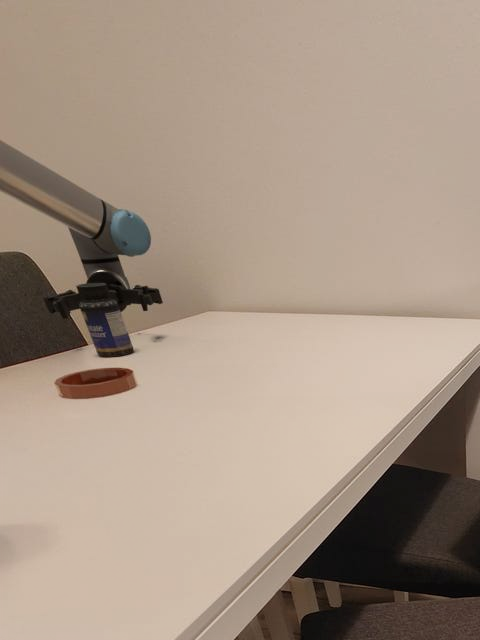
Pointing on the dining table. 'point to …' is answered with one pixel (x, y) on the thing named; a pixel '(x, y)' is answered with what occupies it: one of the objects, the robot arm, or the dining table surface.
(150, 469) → the dining table surface
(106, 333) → the pill bottle
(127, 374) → the holder
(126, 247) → the robot arm
